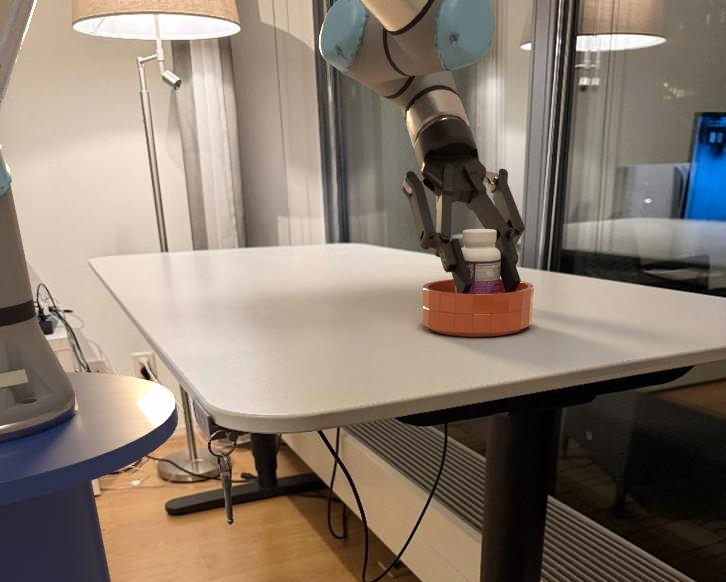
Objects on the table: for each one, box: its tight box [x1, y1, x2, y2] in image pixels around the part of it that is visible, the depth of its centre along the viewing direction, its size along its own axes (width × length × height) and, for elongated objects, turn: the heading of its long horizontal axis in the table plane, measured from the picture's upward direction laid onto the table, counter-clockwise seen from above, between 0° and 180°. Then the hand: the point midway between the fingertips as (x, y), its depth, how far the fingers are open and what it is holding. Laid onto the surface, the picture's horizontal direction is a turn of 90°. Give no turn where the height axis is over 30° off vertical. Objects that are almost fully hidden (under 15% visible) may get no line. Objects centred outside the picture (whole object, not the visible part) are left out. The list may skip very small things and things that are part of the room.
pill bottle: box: [455, 228, 501, 294], centre depth 87 cm, size 5×5×10 cm
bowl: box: [421, 278, 535, 338], centre depth 88 cm, size 13×13×5 cm
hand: (489, 289), depth 84 cm, fingers closed on pill bottle, 5 cm apart
